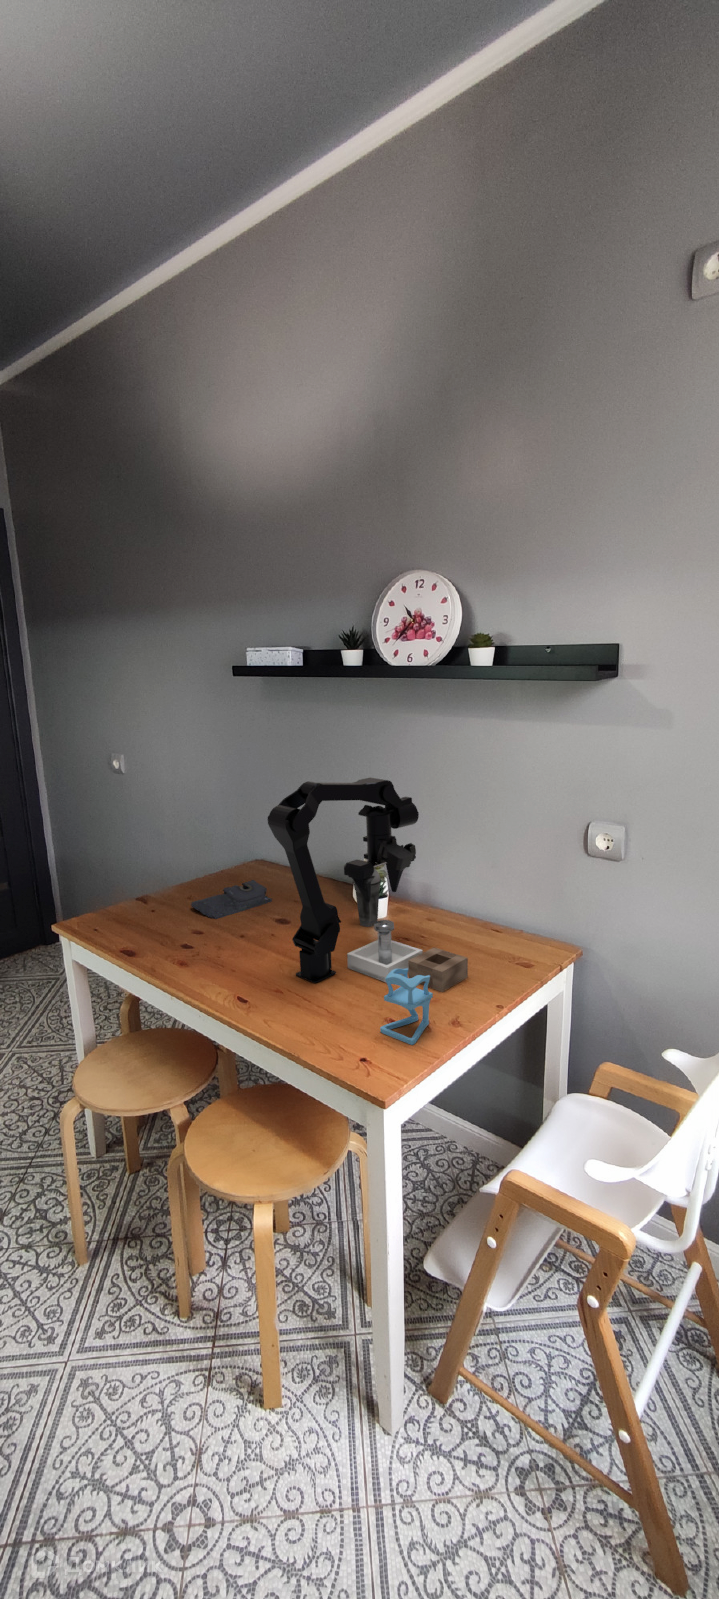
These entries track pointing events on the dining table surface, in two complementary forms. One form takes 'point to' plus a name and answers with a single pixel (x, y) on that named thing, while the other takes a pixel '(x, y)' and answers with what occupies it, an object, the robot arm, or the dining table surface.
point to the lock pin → (384, 940)
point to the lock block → (439, 968)
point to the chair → (407, 1002)
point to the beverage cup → (369, 910)
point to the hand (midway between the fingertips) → (381, 896)
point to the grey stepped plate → (233, 900)
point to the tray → (368, 959)
